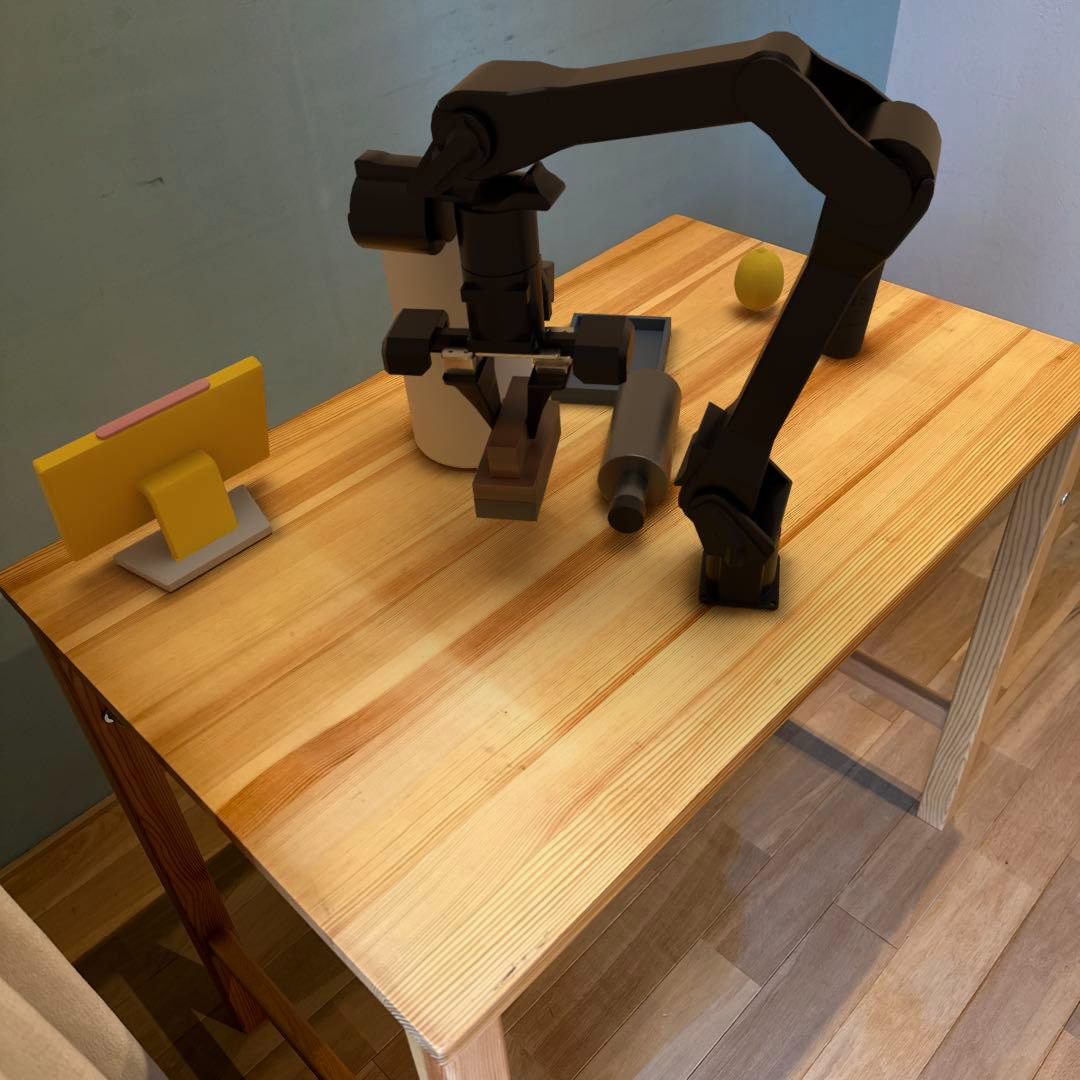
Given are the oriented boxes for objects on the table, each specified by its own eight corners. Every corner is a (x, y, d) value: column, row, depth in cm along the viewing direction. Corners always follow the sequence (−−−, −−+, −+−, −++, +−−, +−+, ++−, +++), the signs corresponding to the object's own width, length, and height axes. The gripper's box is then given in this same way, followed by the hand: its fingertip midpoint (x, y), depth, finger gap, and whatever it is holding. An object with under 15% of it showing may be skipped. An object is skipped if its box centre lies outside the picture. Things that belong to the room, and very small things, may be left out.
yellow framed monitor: (269, 474, 99) (226, 335, 89) (315, 508, 95) (275, 366, 84) (80, 579, 90) (7, 436, 79) (121, 622, 85) (49, 478, 75)
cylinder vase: (411, 476, 98) (366, 234, 81) (418, 403, 107) (379, 172, 90) (539, 467, 98) (520, 223, 81) (535, 395, 107) (518, 162, 90)
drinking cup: (788, 341, 112) (809, 163, 98) (844, 322, 114) (872, 146, 100) (830, 373, 107) (859, 190, 93) (888, 353, 109) (924, 172, 95)
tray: (657, 408, 104) (657, 392, 102) (551, 402, 106) (550, 386, 104) (671, 332, 115) (671, 316, 113) (574, 327, 117) (573, 312, 115)
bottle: (680, 423, 101) (682, 369, 97) (661, 550, 88) (663, 494, 84) (617, 419, 103) (617, 366, 98) (589, 544, 89) (587, 488, 85)
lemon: (728, 321, 116) (733, 257, 110) (736, 298, 119) (741, 234, 114) (777, 326, 114) (784, 261, 109) (783, 302, 118) (790, 238, 113)
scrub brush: (536, 522, 80) (531, 457, 76) (476, 517, 81) (467, 453, 77) (561, 433, 89) (557, 370, 84) (506, 430, 90) (499, 368, 85)
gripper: (642, 211, 76) (641, 385, 86) (406, 208, 79) (432, 375, 90) (625, 283, 68) (626, 465, 78) (362, 275, 71) (397, 451, 82)
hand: (517, 435), depth 82 cm, fingers closed on scrub brush, 2 cm apart
